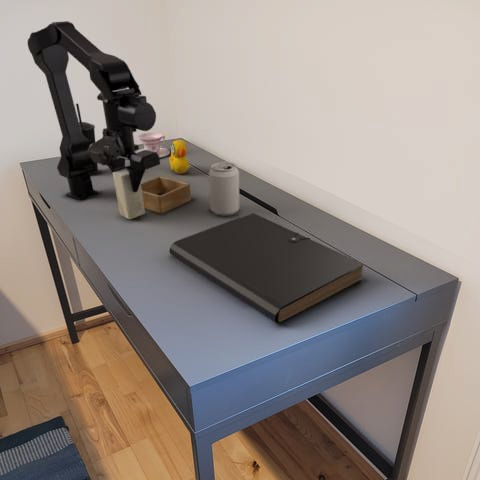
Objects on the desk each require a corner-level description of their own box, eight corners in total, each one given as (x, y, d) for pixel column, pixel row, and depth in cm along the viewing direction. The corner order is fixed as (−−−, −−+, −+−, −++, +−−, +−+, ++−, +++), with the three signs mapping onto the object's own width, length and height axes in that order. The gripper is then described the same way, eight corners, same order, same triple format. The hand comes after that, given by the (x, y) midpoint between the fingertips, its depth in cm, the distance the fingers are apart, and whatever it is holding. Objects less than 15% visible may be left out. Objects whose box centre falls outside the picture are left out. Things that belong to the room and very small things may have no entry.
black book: (365, 262, 94) (275, 309, 81) (362, 280, 96) (274, 328, 84) (253, 211, 114) (168, 242, 102) (253, 227, 117) (170, 259, 104)
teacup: (140, 161, 159) (137, 142, 156) (131, 151, 168) (128, 133, 165) (174, 156, 164) (173, 137, 160) (164, 147, 172) (162, 129, 169)
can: (236, 218, 121) (235, 170, 114) (207, 215, 123) (205, 169, 116) (241, 206, 127) (241, 161, 120) (214, 204, 128) (212, 159, 122)
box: (136, 209, 125) (130, 166, 118) (145, 214, 122) (140, 170, 116) (118, 215, 122) (111, 171, 115) (128, 220, 119) (121, 176, 113)
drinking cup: (107, 171, 151) (96, 102, 139) (89, 178, 146) (76, 107, 134) (90, 167, 154) (78, 99, 143) (72, 173, 149) (57, 104, 138)
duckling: (194, 177, 146) (192, 143, 140) (177, 179, 145) (174, 145, 139) (183, 166, 155) (181, 134, 149) (167, 168, 153) (164, 136, 147)
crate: (131, 204, 129) (128, 187, 127) (160, 191, 137) (159, 175, 134) (162, 213, 124) (160, 197, 121) (191, 200, 131) (189, 184, 129)
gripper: (63, 124, 108) (77, 191, 118) (120, 137, 99) (130, 209, 109) (102, 115, 116) (112, 178, 125) (158, 126, 107) (164, 194, 116)
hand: (128, 189), depth 118 cm, fingers closed on box, 4 cm apart
